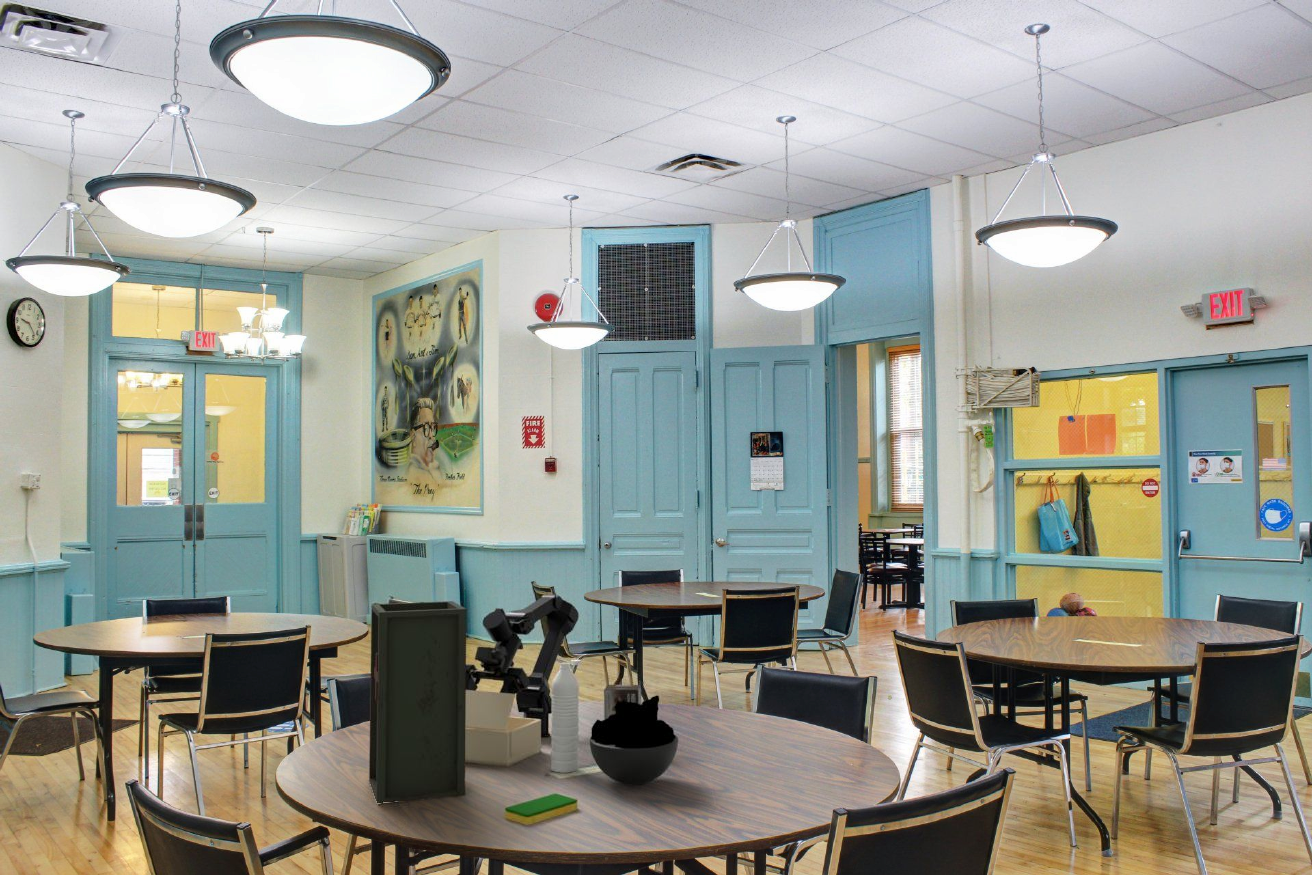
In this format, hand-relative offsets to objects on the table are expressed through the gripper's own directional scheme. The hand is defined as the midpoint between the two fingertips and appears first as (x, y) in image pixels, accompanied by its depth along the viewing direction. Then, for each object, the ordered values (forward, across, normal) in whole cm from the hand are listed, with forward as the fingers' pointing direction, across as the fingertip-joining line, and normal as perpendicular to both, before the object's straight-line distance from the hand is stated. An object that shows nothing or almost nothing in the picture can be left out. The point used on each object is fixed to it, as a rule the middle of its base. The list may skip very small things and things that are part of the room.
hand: (479, 704), depth 251 cm
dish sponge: (+32, +35, -13) cm, 49 cm away
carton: (+6, 0, +13) cm, 14 cm away
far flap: (+1, 0, 0) cm, 1 cm away
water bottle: (+9, +24, +10) cm, 28 cm away
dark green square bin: (+28, +1, -10) cm, 30 cm away
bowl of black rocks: (+13, +44, +6) cm, 46 cm away
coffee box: (-6, +29, +25) cm, 38 cm away
